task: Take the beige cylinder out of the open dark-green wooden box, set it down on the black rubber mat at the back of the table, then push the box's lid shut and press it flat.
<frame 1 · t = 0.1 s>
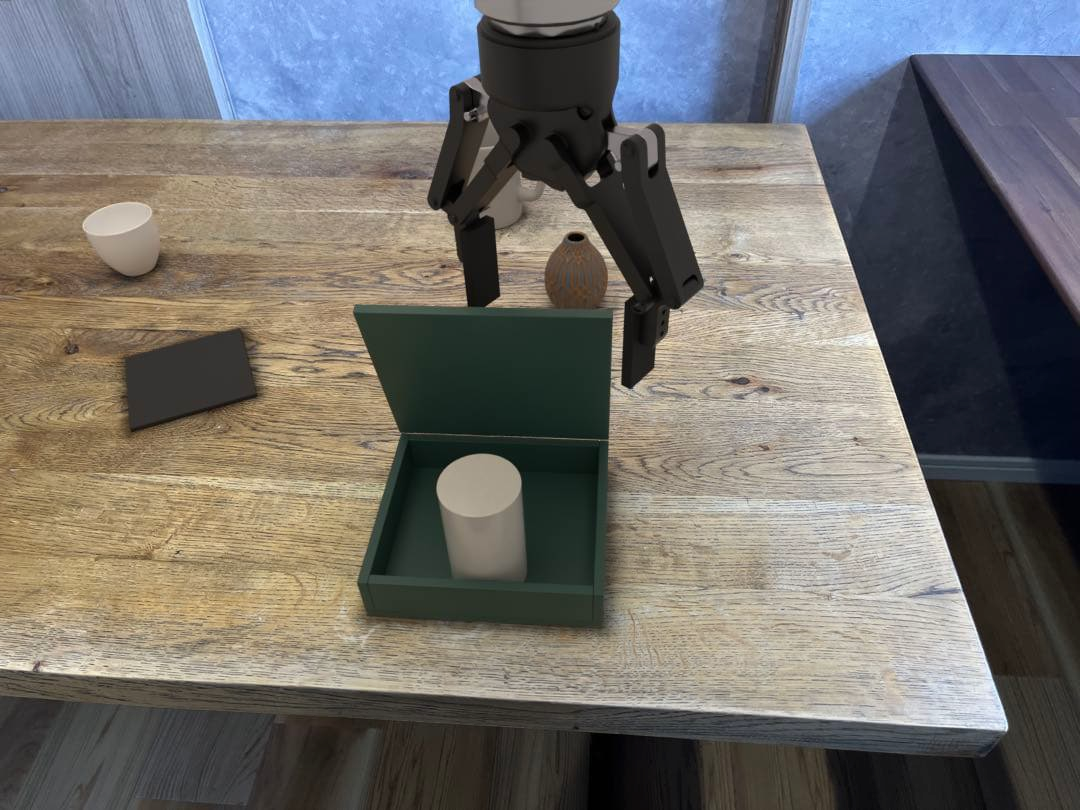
hand: (556, 338, 57), 19 cm above the table, tool pointing down, fingers open, 13 cm apart
mat: (189, 377, 84), on the table
mug: (502, 216, 107), on the table
vase: (576, 306, 91), on the table
box: (496, 539, 67), on the table
beige cylinder: (489, 569, 64), point 1 cm above the table, touching box
cup: (134, 265, 101), on the table
lid: (493, 378, 63), point 13 cm above the table, hinge at 75.0°
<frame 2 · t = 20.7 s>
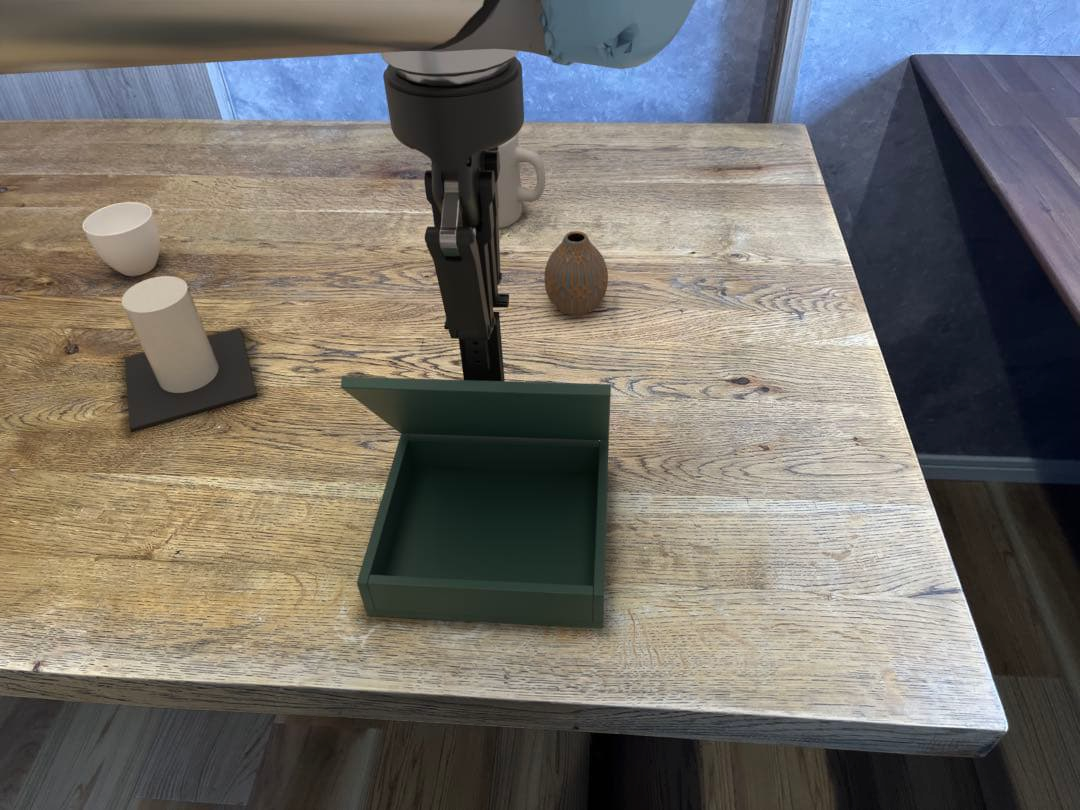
hand: (485, 389, 60), 14 cm above the table, tool pointing down, fingers closed
beige cylinder: (188, 374, 84), resting on mat
lid: (490, 412, 62), point 11 cm above the table, hinge at 55.2°, touching gripper
everything else where it was.
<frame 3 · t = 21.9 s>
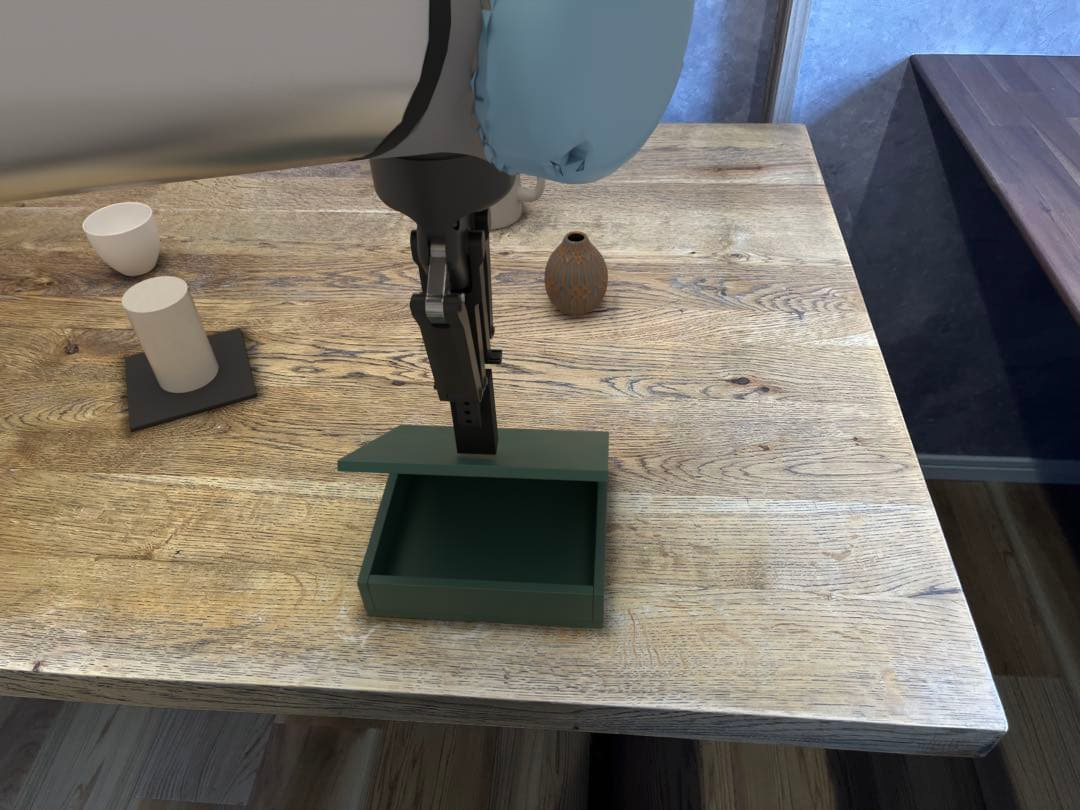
hand: (478, 446, 57), 13 cm above the table, tool pointing down, fingers closed
lid: (489, 449, 62), point 10 cm above the table, hinge at 35.6°, touching gripper
everything else where it was.
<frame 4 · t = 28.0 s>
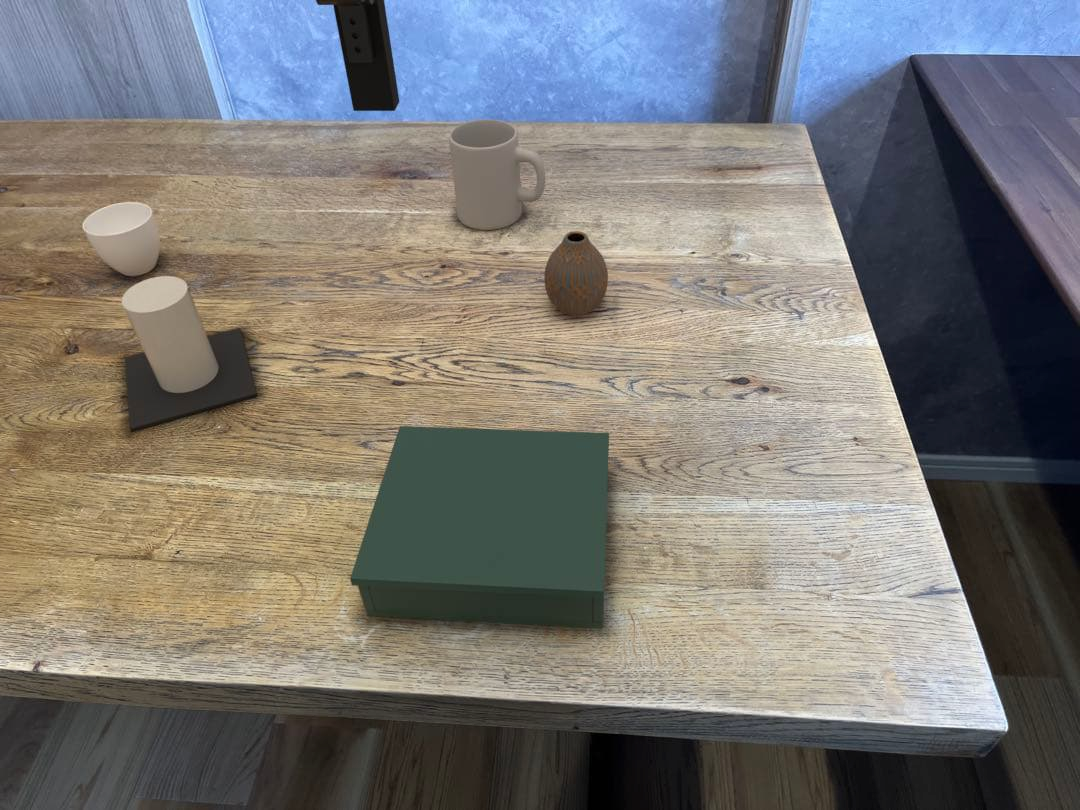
hand: (376, 105, 53), 32 cm above the table, tool pointing down, fingers closed
lid: (491, 502, 64), point 5 cm above the table, hinge at 2.6°
everything else where it was.
at the end: beige cylinder inside the target area on the mat (0.1 cm from its centre), point 0.4 cm above the mat's base; beige cylinder tilted 0°; lid at +3° (first picture: +75°) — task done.
